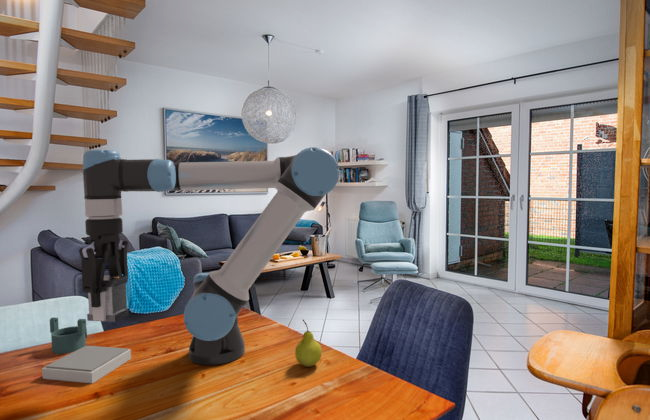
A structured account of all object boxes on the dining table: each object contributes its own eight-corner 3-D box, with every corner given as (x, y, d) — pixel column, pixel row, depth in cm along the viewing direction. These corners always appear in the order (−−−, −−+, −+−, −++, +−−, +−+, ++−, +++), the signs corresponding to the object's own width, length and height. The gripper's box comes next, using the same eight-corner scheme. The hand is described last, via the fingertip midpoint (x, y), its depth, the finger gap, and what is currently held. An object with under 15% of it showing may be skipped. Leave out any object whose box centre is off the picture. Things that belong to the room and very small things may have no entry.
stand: (131, 358, 109) (130, 347, 109) (92, 383, 95) (91, 371, 95) (86, 355, 112) (86, 344, 112) (42, 378, 98) (42, 366, 98)
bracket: (87, 349, 116) (86, 319, 115) (48, 356, 111) (47, 325, 111) (87, 340, 123) (86, 311, 123) (51, 346, 119) (50, 316, 118)
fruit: (327, 365, 104) (326, 320, 104) (309, 374, 99) (308, 327, 99) (308, 357, 109) (308, 314, 108) (290, 366, 104) (289, 320, 103)
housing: (129, 314, 96) (127, 274, 95) (115, 321, 91) (113, 279, 90) (102, 313, 97) (100, 273, 96) (87, 320, 92) (85, 278, 91)
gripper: (115, 214, 102) (118, 304, 103) (58, 220, 84) (63, 329, 85) (142, 214, 101) (145, 305, 102) (90, 220, 83) (95, 330, 84)
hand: (108, 316), depth 94 cm, fingers closed on housing, 5 cm apart
